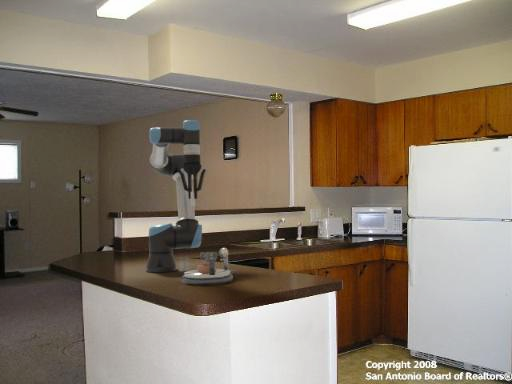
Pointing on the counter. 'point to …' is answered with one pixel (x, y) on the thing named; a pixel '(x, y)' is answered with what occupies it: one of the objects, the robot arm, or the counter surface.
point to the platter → (212, 274)
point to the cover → (204, 268)
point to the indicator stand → (224, 254)
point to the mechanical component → (208, 255)
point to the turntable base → (207, 281)
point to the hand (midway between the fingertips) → (193, 206)
